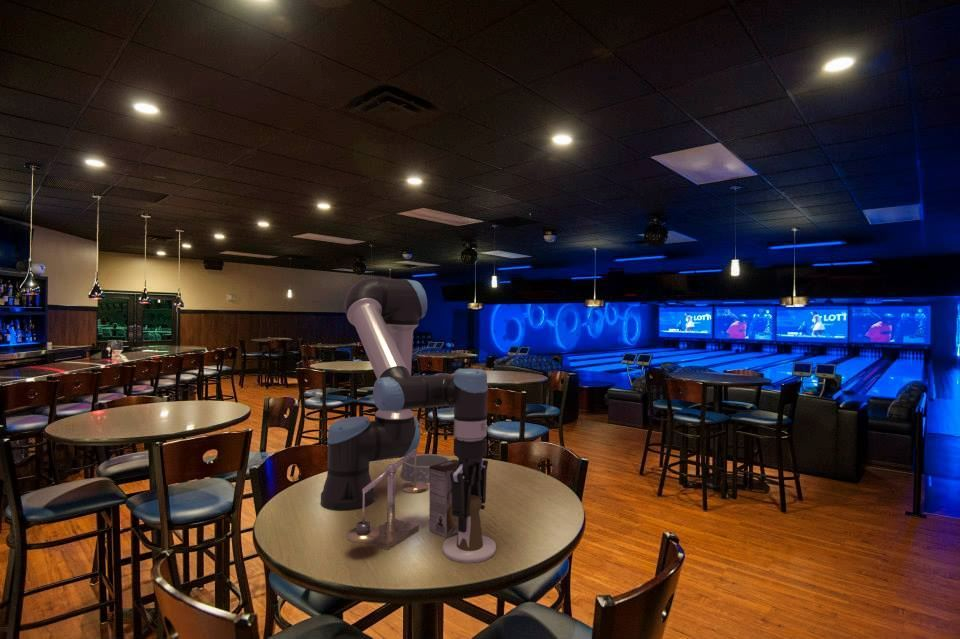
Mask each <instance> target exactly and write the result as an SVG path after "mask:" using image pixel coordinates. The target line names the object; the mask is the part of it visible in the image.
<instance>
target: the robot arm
mask: <svg viewBox="0 0 960 639" xmlns="http://www.w3.org/2000/svg"><path fill="white" fill-rule="evenodd" d="M427 310H428V297H427V293H426V291H425V289H424V287H423V285H422V283H420V282H419V281H417V280H412V279H406V278H387V277H376V276H375V277H374V276H372V277H365V278H363V279H361V280H358V281H357V282H355V284H353V285H352V286H351V288H350V289H349V290H348V292H347V293H346V296H345V299H344V313H345V316H346V318H347V320H348V322H349V323H350V324H351V325H352V326H354V327H355V329H356V332H357V334H358V337H359V339H360V342H361V345H362V346H363V348H364V351H365V353H366V355H367V358H368V360H369V362H370V365H371V368H372V370H373V373H374V374H375V375H374V376H375V377H376V380H375V382H374V385H373V390H372V395H373V402H374V405H375V406H376V408H377V409H378V410H377V411H376V412H375V413H374V420H371V419H370V418H369V417H367V416H362V415H361V416H351V417H345V418H342V419H339V420H336V421H334V422H332V423H331V424H330V425H329V427H328V431H327V440H326V442H327V474H326V475H327V476H326V479H325V482H324V485H323V489H322V491H321V493H320V505H321V506H322V507H323V508H326V509H329V510H337V511H345V510H346V511H347V510H355V509H361V508H363V492H362V489H363V488H364V487H366V486H367V485H368V484H370V483H371V482H372V478H371V475H370V462H377V461H382V460H383V461H385V460H391V459H402V458H403V457H404V456H406V455H407V454H408V453H410V452H411V451H412V450H413V449H417V450H418V447H419V444H420V443H421V442H420V441H421V440H420V439H421V428H420V426H421V425H420V422H419V420H418V418H416V417H415V414H414V412H413V411H412V410H413V409H422V408H423V409H425V408H426V409H427V408H437V407H452V408H453V436H454V437H455V438H454V439H453V454H454V456H455V457H457V458H458V459H457V460H458V465H457V470H456V472H451V473H450V477H451V482H452V515H453V516H457V517H458V533H457V535H458V545H460V543H461V540H462V538H464V539H466V542H467V545H468V547H469V539H470V527H471V516H468V515H469V506H470V495H476V496H478V497H480V499H481V502H482V506H481V509H480V511H479V515H480V516H481V510H485V508H486V505H484V504H486V501H487V496H486V495H487V475H488V474H487V471H488V465H489V461H488V460H486V459H483V458H484V457H485V456H487V454H488V453H487V451H488V450H487V449H488V448H487V447H488V442H487V441H488V440H487V438H486V436H487V431H488V428H489V427H488V424H487V422H488V417H487V416H488V390H489V385H488V374H487V372H486V370H484V369H480V368H478V369H477V368H461V369H460V368H459V369H456V370H455V371H454V374H450V373H447V372H446V373H445V372H444V373H441V372H440V373H436V374H434V375H433V374H432V375H431V374H430V375H412V364H413V363H412V361H413V360H412V358H413V337H414V331H415V329H416V328H417V327H418V326H419V321H420V320H421V319H423V318H424V317H426V314H427ZM464 480H466V481H464ZM375 500H376V491H375V488H374V487H373V488H372V489H371V490H369V491H368V492H367V493H365V507H367V506H369V505H370V504H372V503H373V502H374V501H375Z"/></svg>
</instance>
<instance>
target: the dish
mask: <svg viewBox="0 0 960 639" xmlns="http://www.w3.org/2000/svg"><path fill="white" fill-rule="evenodd" d="M457 537H458V534H457V535H456V534H455V535H452V536H449V537H447V538H446V540H444V541H443V543H442V554H443V555H444V557H446V558H447V559H449V560H451V561H454V562H458V563H463V564H464V563H465V564H474V563H481V562H486V561H488V560H490V559H491V558H493V557H494V556H495V554H496V552H497V548H496V547H497V544H496V542H495V541H494V540H493V539H492V538H490V537H488V536H486V535H483V534H482V540H483V547H482V548H481V549H479V550H475V551H464V550H461V549H459V548H458V547H457V545H456V544H457Z"/></svg>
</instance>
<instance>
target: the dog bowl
mask: <svg viewBox="0 0 960 639" xmlns="http://www.w3.org/2000/svg"><path fill="white" fill-rule="evenodd" d="M450 460H451V459H450V458H449V456H448V457H447V456H445V455H443V454H433V453H424V454H423V453H421V454H416V482H424V483H427V484H430V466H433V465H437V464H440V463H443V462H447V461H450ZM399 477H400V478H401V479H402V480H403V479H404V480H403V481H407V482H409V481H410V482H414V477H415V455H413V456H412V457H411V458H410V459H408V460H407V461H406V462H405V463H403V464H402V465H401V470H400V474H399Z"/></svg>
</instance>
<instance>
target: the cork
mask: <svg viewBox="0 0 960 639" xmlns="http://www.w3.org/2000/svg"><path fill="white" fill-rule="evenodd" d="M482 505H483V503H482V502H481V499H480V497H478V496H476V495H470V506H469V515H468V516H471V527H470V539H469V547H468V545H467V542H466V539H464V538H462V540H461V543H460V545H458V537H457V544H456V545H457V547H458V548H459V549H461V550H464V551H475V550H479V549H481V548H482V547H483V540H482V535H483V533H482V523H481V514H480V515H479V511H480V512H481V510H482V509H481V506H482Z"/></svg>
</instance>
